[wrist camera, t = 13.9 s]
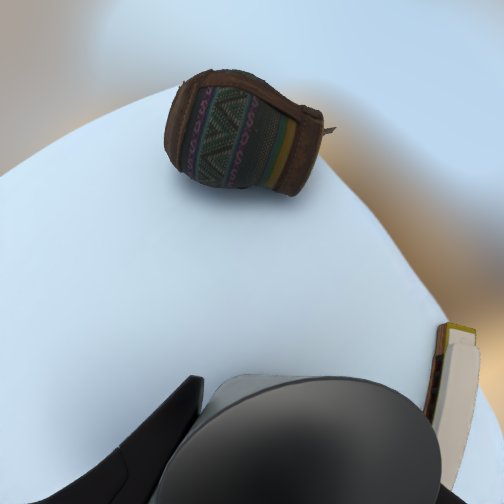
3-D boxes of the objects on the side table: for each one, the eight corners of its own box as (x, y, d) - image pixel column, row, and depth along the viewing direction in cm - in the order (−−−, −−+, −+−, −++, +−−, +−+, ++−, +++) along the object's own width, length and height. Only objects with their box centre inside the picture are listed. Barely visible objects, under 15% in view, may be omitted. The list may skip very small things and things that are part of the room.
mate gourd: (148, 114, 11) (369, 182, 12) (204, 35, 14) (363, 87, 15) (156, 196, 18) (309, 239, 19) (194, 114, 20) (319, 152, 22)
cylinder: (303, 405, 14) (478, 451, 3) (253, 460, 12) (316, 620, 1) (244, 358, 14) (300, 310, 4) (193, 413, 13) (96, 516, 2)
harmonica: (417, 531, 9) (433, 539, 8) (380, 536, 10) (394, 547, 8) (467, 333, 16) (485, 326, 14) (436, 326, 16) (454, 318, 14)
